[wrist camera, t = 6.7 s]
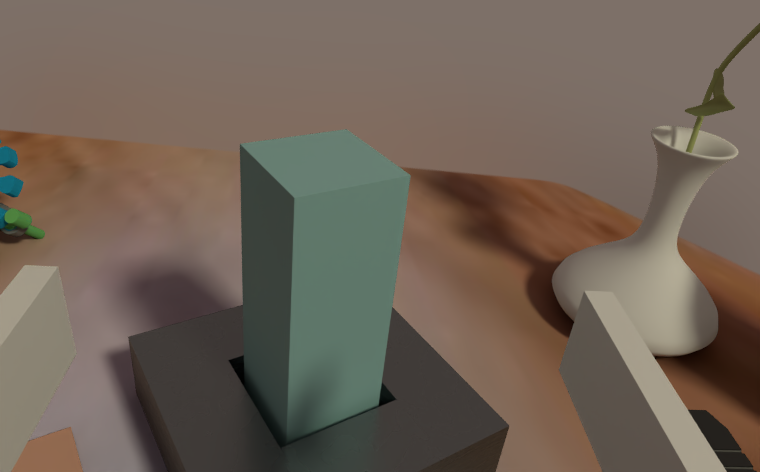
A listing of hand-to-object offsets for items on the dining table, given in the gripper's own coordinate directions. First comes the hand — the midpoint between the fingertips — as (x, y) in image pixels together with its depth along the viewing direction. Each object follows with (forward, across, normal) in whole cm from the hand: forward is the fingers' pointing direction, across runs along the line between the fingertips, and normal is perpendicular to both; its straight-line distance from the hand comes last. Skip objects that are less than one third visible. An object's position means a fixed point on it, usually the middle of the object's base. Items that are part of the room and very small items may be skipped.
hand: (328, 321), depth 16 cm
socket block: (+10, -1, -16) cm, 19 cm away
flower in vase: (+22, +22, -16) cm, 36 cm away
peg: (+10, -1, -16) cm, 19 cm away
